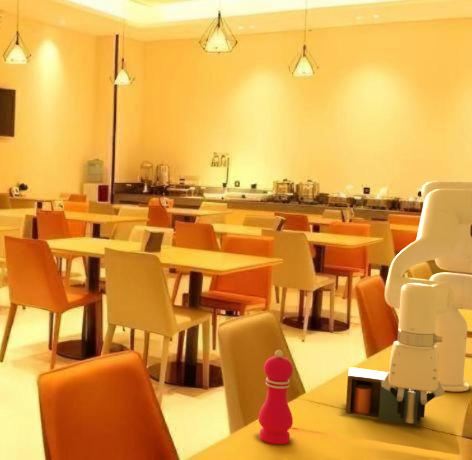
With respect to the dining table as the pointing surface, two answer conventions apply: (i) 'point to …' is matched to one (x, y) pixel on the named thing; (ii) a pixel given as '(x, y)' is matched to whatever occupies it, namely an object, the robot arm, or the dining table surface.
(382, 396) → the sliding door
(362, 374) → the cabinet
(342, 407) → the dining table surface
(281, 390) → the pepper mill
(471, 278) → the robot arm
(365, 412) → the orange cylinder
